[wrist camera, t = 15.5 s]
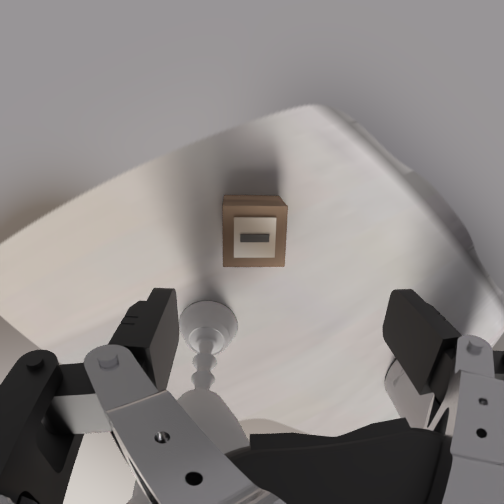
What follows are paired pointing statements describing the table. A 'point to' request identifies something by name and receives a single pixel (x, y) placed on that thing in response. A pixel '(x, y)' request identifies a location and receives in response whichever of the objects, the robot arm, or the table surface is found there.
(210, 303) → the chalice
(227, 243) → the walnut cube
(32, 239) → the table surface
